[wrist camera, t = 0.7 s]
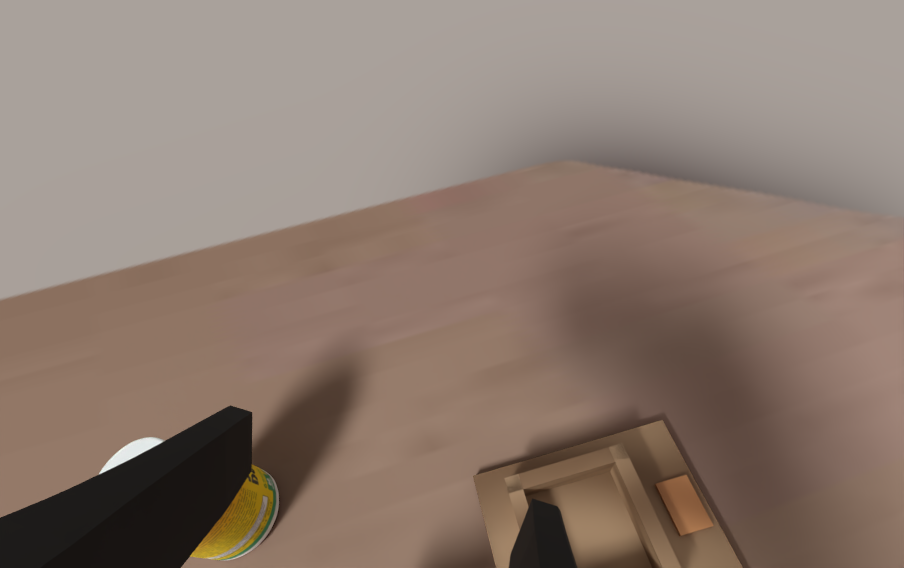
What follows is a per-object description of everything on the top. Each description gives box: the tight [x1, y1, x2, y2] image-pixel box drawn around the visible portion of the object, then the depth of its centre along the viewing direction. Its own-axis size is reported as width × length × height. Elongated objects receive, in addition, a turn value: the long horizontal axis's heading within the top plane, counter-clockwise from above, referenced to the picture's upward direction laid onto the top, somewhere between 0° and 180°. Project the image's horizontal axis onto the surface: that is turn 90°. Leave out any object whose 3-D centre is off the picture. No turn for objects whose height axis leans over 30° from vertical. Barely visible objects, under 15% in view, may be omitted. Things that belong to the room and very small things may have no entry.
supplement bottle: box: [99, 437, 279, 560], centre depth 24 cm, size 5×5×10 cm
